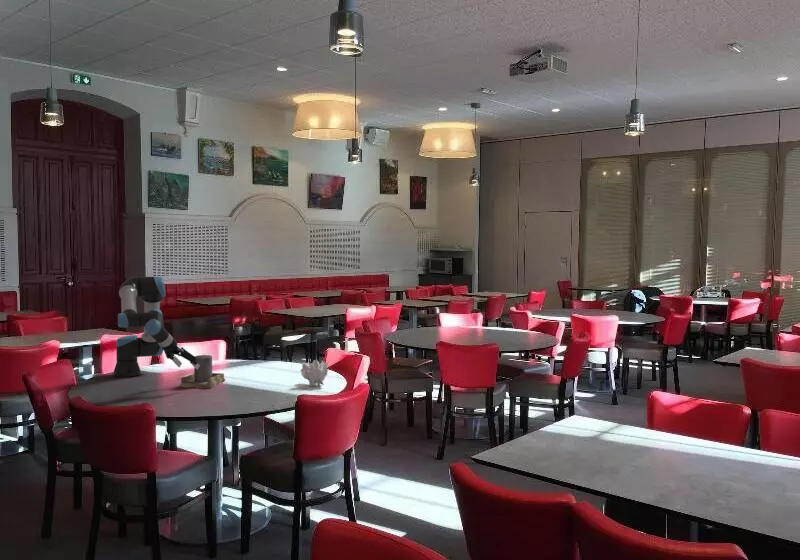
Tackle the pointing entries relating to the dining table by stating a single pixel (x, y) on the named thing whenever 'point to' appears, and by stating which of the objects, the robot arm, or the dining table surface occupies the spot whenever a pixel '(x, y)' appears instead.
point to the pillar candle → (203, 368)
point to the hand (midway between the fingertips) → (189, 366)
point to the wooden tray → (189, 382)
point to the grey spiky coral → (314, 372)
